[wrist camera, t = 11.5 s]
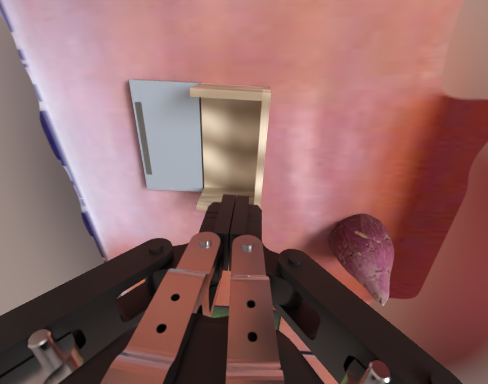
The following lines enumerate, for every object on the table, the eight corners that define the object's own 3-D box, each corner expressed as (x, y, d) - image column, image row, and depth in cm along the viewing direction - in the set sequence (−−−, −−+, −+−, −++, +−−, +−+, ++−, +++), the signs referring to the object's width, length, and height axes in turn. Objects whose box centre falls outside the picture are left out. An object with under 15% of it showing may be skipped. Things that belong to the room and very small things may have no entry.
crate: (201, 82, 36) (189, 88, 30) (269, 86, 36) (270, 92, 29) (205, 189, 45) (196, 210, 39) (259, 193, 44) (259, 214, 38)
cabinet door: (199, 82, 36) (132, 79, 36) (198, 83, 35) (128, 79, 35) (203, 188, 45) (149, 186, 45) (202, 191, 44) (147, 189, 44)
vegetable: (367, 244, 52) (403, 318, 42) (320, 244, 52) (345, 319, 41) (391, 212, 45) (442, 291, 34) (338, 211, 44) (373, 292, 34)
